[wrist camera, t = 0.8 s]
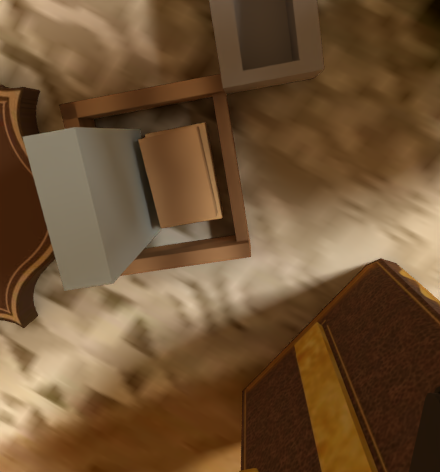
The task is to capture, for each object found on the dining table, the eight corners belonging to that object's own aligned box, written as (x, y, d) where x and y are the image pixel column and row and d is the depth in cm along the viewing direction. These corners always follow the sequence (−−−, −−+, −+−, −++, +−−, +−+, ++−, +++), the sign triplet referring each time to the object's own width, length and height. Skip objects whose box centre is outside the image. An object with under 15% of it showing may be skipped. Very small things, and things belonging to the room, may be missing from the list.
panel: (140, 129, 36) (74, 127, 22) (160, 229, 38) (112, 283, 24) (106, 135, 36) (22, 136, 23) (129, 234, 38) (64, 290, 25)
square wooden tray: (224, 79, 35) (221, 73, 31) (250, 245, 38) (250, 256, 34) (77, 107, 36) (59, 104, 32) (114, 265, 39) (102, 278, 36)
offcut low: (206, 123, 36) (204, 122, 34) (223, 213, 38) (222, 218, 36) (150, 133, 37) (144, 134, 34) (169, 222, 38) (165, 227, 36)
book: (371, 242, 37) (604, 450, 13) (440, 301, 38) (780, 599, 14) (215, 404, 42) (170, 773, 18) (279, 452, 43) (319, 868, 19)
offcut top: (198, 126, 34) (195, 126, 32) (217, 212, 36) (216, 216, 33) (144, 139, 34) (138, 139, 32) (165, 222, 36) (160, 228, 34)
